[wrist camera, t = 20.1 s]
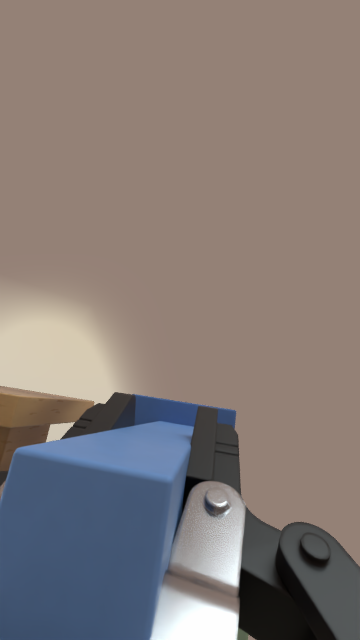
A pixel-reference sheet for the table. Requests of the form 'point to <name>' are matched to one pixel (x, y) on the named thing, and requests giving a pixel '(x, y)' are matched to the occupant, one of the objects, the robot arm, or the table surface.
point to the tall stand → (32, 418)
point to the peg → (94, 527)
